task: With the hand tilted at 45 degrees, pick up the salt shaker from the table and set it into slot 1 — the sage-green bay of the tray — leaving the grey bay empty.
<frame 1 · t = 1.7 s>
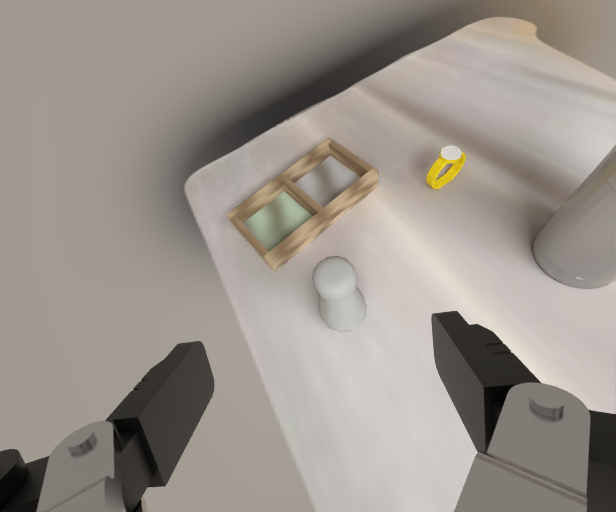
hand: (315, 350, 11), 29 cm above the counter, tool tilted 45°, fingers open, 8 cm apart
tray: (305, 207, 50), on the counter
salt shaker: (344, 314, 41), on the counter
watch: (442, 182, 48), on the counter
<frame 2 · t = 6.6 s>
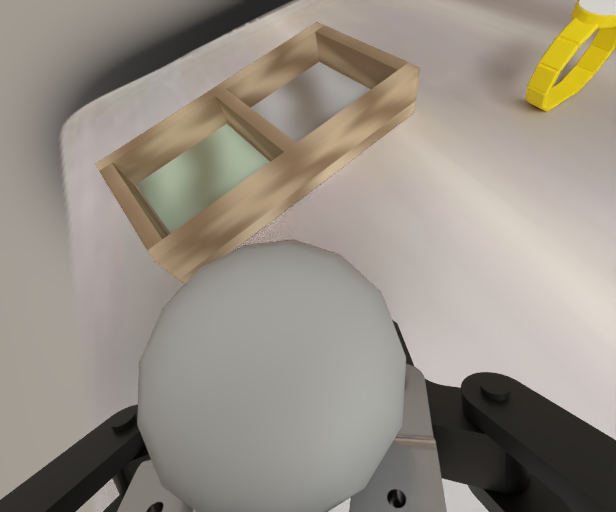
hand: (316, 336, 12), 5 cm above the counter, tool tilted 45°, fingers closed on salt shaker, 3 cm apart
tray: (266, 154, 25), on the counter
salt shaker: (338, 404, 16), on the counter, touching gripper
watch: (552, 100, 23), on the counter
when the fingers open (8 cm above the counter, at t = 12.1 s): salt shaker stays where it is, resting on tray.
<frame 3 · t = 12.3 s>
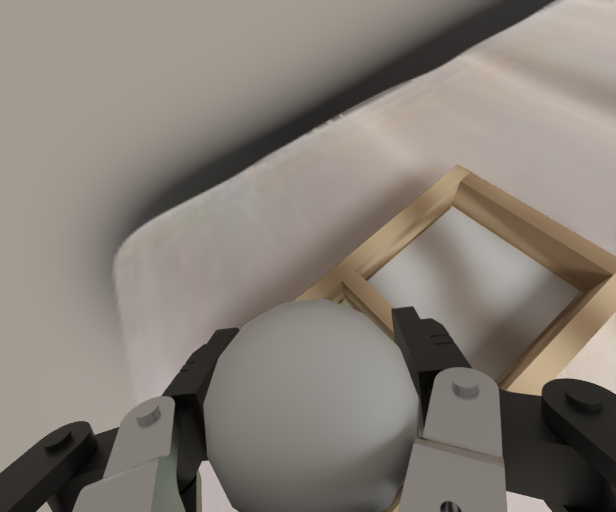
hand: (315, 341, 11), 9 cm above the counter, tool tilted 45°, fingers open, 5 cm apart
tray: (402, 348, 19), on the counter
salt shaker: (350, 416, 17), point 1 cm above the counter, touching tray
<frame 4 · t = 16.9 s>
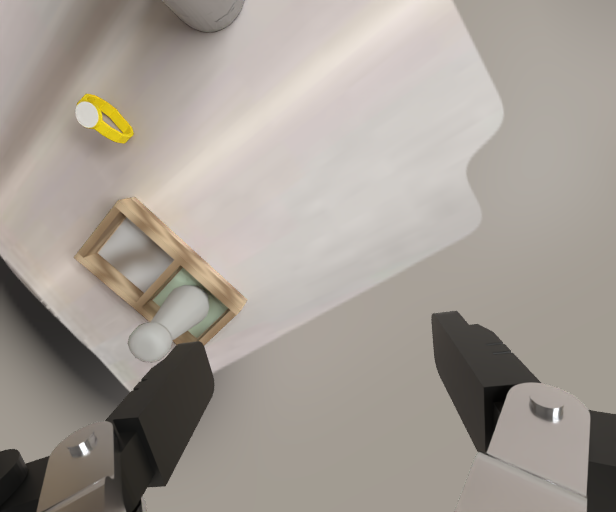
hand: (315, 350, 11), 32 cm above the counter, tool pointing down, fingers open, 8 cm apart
tray: (170, 275, 46), on the counter
salt shaker: (195, 297, 46), point 1 cm above the counter, touching tray
watch: (122, 122, 41), on the counter
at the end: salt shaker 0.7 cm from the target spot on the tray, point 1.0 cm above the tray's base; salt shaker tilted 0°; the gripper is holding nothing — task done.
